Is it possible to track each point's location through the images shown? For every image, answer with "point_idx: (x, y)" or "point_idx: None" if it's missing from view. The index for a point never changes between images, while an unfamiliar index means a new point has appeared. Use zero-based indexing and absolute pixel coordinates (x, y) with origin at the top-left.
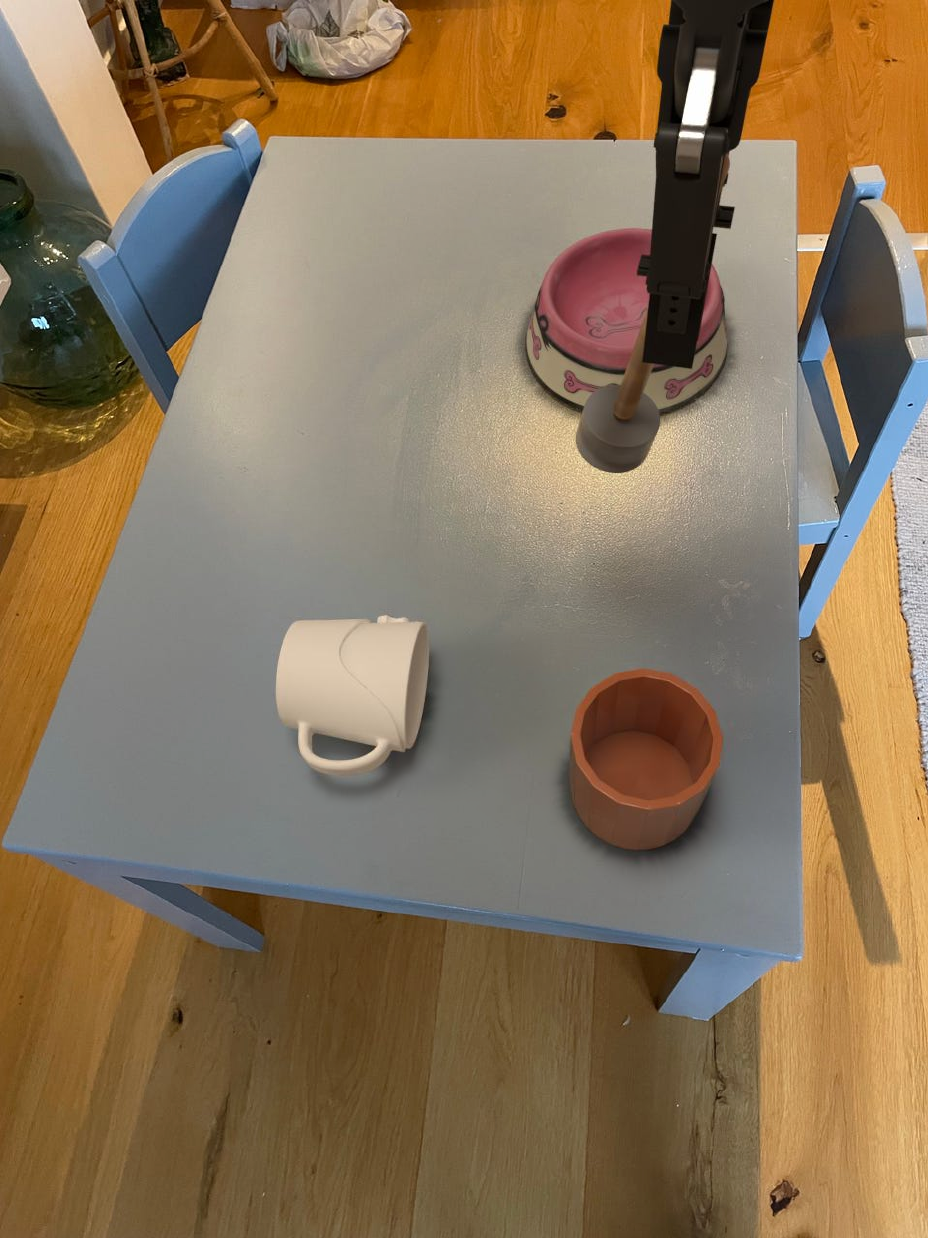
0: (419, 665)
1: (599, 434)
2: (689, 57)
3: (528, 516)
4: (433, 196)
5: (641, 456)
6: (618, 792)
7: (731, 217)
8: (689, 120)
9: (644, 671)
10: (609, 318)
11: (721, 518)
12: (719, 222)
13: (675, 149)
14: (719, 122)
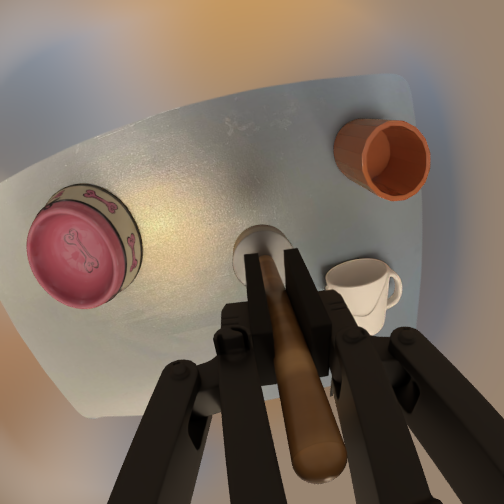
0: (334, 271)
1: None
2: None
3: (223, 252)
4: (60, 359)
5: (279, 231)
6: (425, 169)
7: (235, 336)
8: None
9: (364, 170)
10: (82, 260)
11: (184, 146)
12: (252, 347)
13: None
14: None
